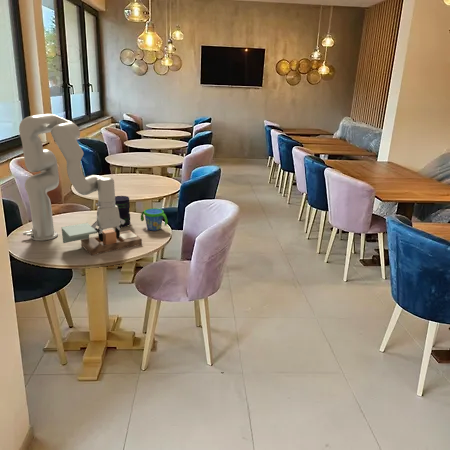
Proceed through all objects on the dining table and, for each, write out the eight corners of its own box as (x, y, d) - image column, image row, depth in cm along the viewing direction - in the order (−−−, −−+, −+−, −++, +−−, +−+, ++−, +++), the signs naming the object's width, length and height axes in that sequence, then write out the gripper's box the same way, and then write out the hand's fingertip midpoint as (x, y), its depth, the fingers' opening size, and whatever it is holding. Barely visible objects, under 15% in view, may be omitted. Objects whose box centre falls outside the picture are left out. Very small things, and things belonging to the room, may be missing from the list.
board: (91, 255, 188) (90, 248, 187) (81, 245, 198) (80, 239, 197) (141, 244, 202) (141, 238, 201) (130, 235, 212) (129, 229, 211)
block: (106, 246, 196) (105, 234, 194) (102, 242, 200) (102, 231, 197) (116, 244, 199) (116, 232, 196) (112, 240, 202) (112, 229, 200)
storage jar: (108, 225, 225) (107, 199, 220) (118, 220, 234) (116, 194, 229) (125, 228, 222) (123, 201, 217) (133, 222, 231) (132, 196, 226)
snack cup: (171, 229, 223) (171, 211, 220) (159, 234, 215) (159, 216, 211) (149, 223, 230) (148, 206, 227) (136, 228, 222) (135, 210, 218)
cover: (71, 251, 182) (69, 236, 180) (63, 242, 192) (61, 227, 189) (98, 246, 189) (96, 231, 186) (88, 237, 199) (87, 222, 196)
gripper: (91, 208, 185) (94, 245, 191) (127, 203, 194) (129, 238, 200) (85, 204, 190) (89, 240, 196) (121, 199, 200) (123, 233, 206)
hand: (109, 238), depth 198 cm, fingers open, 7 cm apart
